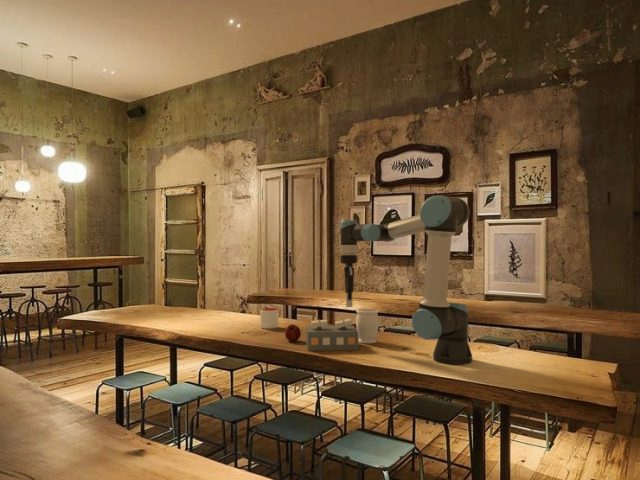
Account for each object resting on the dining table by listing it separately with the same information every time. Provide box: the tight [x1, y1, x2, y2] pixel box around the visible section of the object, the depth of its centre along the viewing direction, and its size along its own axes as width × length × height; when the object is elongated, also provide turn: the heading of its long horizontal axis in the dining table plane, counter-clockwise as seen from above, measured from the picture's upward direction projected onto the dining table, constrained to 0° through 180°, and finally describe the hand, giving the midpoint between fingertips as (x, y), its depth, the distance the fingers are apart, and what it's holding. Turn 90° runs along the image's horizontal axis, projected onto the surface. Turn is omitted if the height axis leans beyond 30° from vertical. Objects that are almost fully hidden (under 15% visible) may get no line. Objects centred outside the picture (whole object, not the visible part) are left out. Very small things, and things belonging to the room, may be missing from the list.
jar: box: [355, 308, 380, 344], centre depth 223 cm, size 11×10×15 cm
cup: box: [259, 307, 280, 330], centre depth 259 cm, size 10×10×10 cm
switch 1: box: [310, 318, 329, 327], centre depth 212 cm, size 5×7×2 cm
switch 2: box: [334, 318, 353, 328], centre depth 213 cm, size 5×7×2 cm
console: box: [305, 325, 359, 351], centre depth 212 cm, size 14×22×9 cm, turn 95°
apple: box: [284, 324, 302, 342], centre depth 224 cm, size 7×8×8 cm
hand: (349, 306), depth 213 cm, fingers closed
